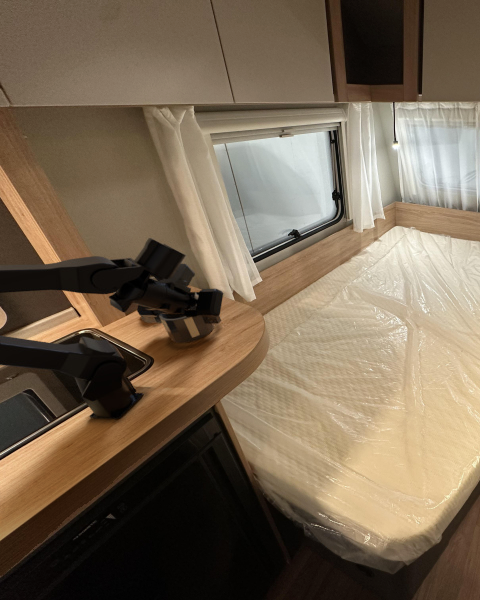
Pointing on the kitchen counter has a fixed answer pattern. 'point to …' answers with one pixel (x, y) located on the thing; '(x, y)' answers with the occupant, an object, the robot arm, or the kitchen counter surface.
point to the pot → (186, 326)
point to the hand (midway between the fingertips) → (205, 310)
